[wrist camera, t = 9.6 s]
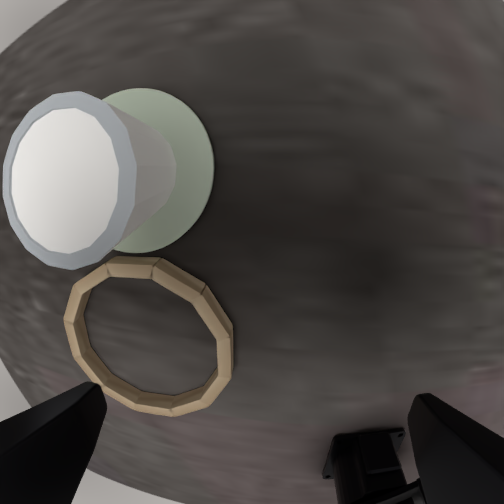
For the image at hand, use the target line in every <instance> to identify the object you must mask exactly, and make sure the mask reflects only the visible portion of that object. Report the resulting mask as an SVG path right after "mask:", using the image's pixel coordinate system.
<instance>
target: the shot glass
mask: <svg viewBox="0 0 504 504" xmlns="http://www.w3.org/2000/svg"><path fill="white" fill-rule="evenodd" d="M176 168H177V164H176V161H175V158H174V154H173V151H172V147H171V145H170V144H169V143H168V142H167V140H166V139H165V138H164V137H163V136H162V134H161V133H160V132H159V131H157V130H155V129H154V128H152V127H150V126H148V125H147V124H145V123H143V122H141V121H140V120H138V119H136V118H134V117H132V116H131V115H129V114H127V113H125V112H123V111H122V110H120V109H118V108H116V107H114V106H112V105H111V104H109V103H107V102H105V101H102V100H100V99H98V98H96V97H93V96H91V95H89V94H86V93H84V92H81V91H76V92H68V93H60V94H53V95H52V96H50V97H49V98H47V99H46V100H44V101H43V102H41V103H40V104H38V105H37V106H35V107H34V108H32V109H31V110H30V111H29V112H28V113H27V115H26V116H25V118H24V119H23V120H22V122H21V123H20V125H19V126H18V128H17V129H16V131H15V132H14V134H13V135H12V138H11V141H10V144H9V147H8V151H7V154H6V157H5V161H4V164H3V199H4V203H5V206H6V210H7V214H8V217H9V221H10V224H11V226H12V228H13V230H14V231H15V233H16V234H17V236H18V238H19V239H20V241H21V242H22V244H23V245H24V247H25V248H26V249H27V250H28V251H29V252H30V253H32V254H33V255H34V256H36V257H37V258H39V259H40V260H41V261H43V262H44V263H45V264H47V265H49V266H54V267H59V268H64V269H69V270H75V269H78V268H81V267H84V266H87V265H90V264H93V263H96V262H99V261H100V260H101V259H102V258H103V257H104V256H105V255H107V254H108V253H109V252H110V251H111V250H112V249H113V248H115V247H116V246H117V245H118V244H119V243H120V242H121V241H123V240H124V239H125V238H126V237H127V236H129V235H130V234H131V233H132V232H133V231H134V230H136V229H137V228H138V227H139V226H140V225H142V224H143V223H144V222H145V221H146V220H148V219H149V218H150V217H151V216H153V215H154V214H155V213H156V212H157V211H158V210H159V209H160V208H161V207H162V206H164V205H165V204H166V203H167V201H168V198H169V196H170V194H171V192H172V190H173V188H174V186H175V179H176Z"/></svg>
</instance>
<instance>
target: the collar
mask: <svg viewBox="0 0 504 504" xmlns="http://www.w3.org/2000/svg"><path fill="white" fill-rule="evenodd" d="M110 276H112V277H128V278H145V279H152V280H154V281H155V282H157V283H159V284H160V285H162V286H164V287H165V288H167V289H169V290H170V291H172V292H174V293H175V294H177V295H179V296H180V297H182V298H184V299H186V300H187V301H189V302H191V303H192V304H193V306H194V307H195V309H196V310H197V312H198V313H199V315H200V316H201V318H202V319H203V321H204V322H205V324H206V325H207V326H208V328H209V329H210V331H211V332H212V334H213V335H214V337H215V338H216V340H217V357H218V367H217V369H216V370H215V371H214V373H213V374H212V376H211V377H210V378H209V380H208V381H207V382H206V384H205V385H204V386H203V387H200V388H197V389H194V390H191V391H188V392H185V393H182V394H179V395H176V396H171V395H163V394H156V393H149V392H143V391H140V390H139V389H137V388H135V387H133V386H132V385H130V384H128V383H126V382H125V381H123V380H121V379H120V378H118V377H116V376H115V375H113V374H112V373H111V372H110V371H109V370H108V368H107V367H106V366H105V365H104V363H103V362H102V361H101V359H100V358H99V357H98V356H97V354H96V353H95V352H94V350H93V349H92V348H91V346H90V342H89V338H88V334H87V330H86V325H85V321H84V316H83V313H84V310H85V307H86V304H87V301H88V298H89V295H90V293H91V290H92V287H94V286H96V285H97V284H99V283H100V282H102V281H103V280H105V279H107V278H108V277H110ZM64 324H65V328H66V332H67V336H68V340H69V344H70V347H71V351H72V354H73V357H74V359H75V360H76V361H77V363H78V364H79V365H80V366H81V368H82V369H83V370H84V372H85V373H86V374H87V375H88V377H89V378H90V379H91V380H92V381H93V382H94V383H98V384H99V385H100V386H101V388H102V391H103V392H104V393H106V394H107V395H109V396H111V397H112V398H114V399H116V400H117V401H119V402H121V403H122V404H124V405H126V406H128V407H129V408H131V409H133V410H135V411H140V412H146V413H152V414H158V415H164V416H171V417H176V416H179V415H183V414H186V413H189V412H193V411H196V410H199V409H203V408H206V407H209V406H210V405H211V404H212V402H213V401H214V400H215V399H216V397H217V396H218V395H219V394H220V392H221V391H222V390H223V388H224V387H225V386H226V385H227V383H228V382H229V381H230V379H231V376H232V370H233V326H232V323H231V322H230V320H229V318H228V317H227V315H226V314H225V312H224V311H223V309H222V308H221V306H220V305H219V303H218V301H217V300H216V298H215V297H214V295H213V294H212V292H211V290H210V289H209V287H208V286H207V285H206V286H205V283H204V282H202V281H200V280H199V279H197V278H195V277H193V276H192V275H190V274H188V273H187V272H185V271H183V270H182V269H180V268H178V267H177V266H175V265H173V264H172V263H170V262H168V261H167V260H165V259H163V258H162V259H161V258H160V257H133V256H115V257H114V258H112V259H110V260H109V261H107V262H106V263H104V264H103V265H101V266H100V267H98V268H97V269H95V270H94V271H93V272H91V273H90V274H88V275H87V276H85V277H84V278H82V279H81V280H80V281H78V282H77V283H75V284H74V285H73V288H72V291H71V294H70V298H69V301H68V305H67V308H66V312H65V315H64Z"/></svg>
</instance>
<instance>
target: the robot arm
mask: <svg viewBox="0 0 504 504" xmlns="http://www.w3.org/2000/svg"><path fill="white" fill-rule="evenodd" d="M106 412H107V403H106V400H105V397H104V394H103V391H102V388H101V386H100V385H99V384H98V383H94V382H88V381H87V382H85V383H82V384H80V385H78V386H76V387H74V388H72V389H70V390H68V391H66V392H64V393H62V394H60V395H58V396H56V397H53V398H51V399H49V400H47V401H45V402H43V403H41V404H39V405H36V406H34V407H32V408H30V409H28V410H26V411H23V412H21V413H19V414H17V415H15V416H12V417H10V418H8V419H6V420H3V421H1V422H0V504H71V503H72V500H73V498H74V496H75V493H76V491H77V488H78V486H79V484H80V481H81V479H82V477H83V474H84V472H85V470H86V468H87V465H88V463H89V461H90V459H91V456H92V454H93V452H94V449H95V446H96V443H97V440H98V437H99V433H100V430H101V427H102V424H103V421H104V418H105V415H106ZM408 426H409V431H410V436H411V441H412V446H413V452H414V457H415V462H416V466H417V470H418V473H419V476H420V478H418V479H416V481H414V482H412V483H410V484H408V485H407V482H406V479H405V476H404V473H403V470H402V468H401V463H400V461H399V458H398V455H397V451H398V449H399V447H400V445H401V443H402V441H403V439H404V437H405V434H406V432H405V430H404V429H403V428H400V429H393V430H386V431H378V432H369V433H359V434H348V435H338V436H335V437H334V438H333V441H332V444H331V448H330V451H329V454H328V457H327V461H326V464H325V467H324V470H323V473H322V476H323V479H334V481H335V487H336V493H337V500H338V504H504V438H503V437H501V436H499V435H498V434H496V433H494V432H493V431H491V430H489V429H488V428H486V427H484V426H483V425H481V424H479V423H478V422H476V421H474V420H473V419H471V418H470V417H468V416H466V415H465V414H463V413H461V412H460V411H458V410H457V409H455V408H453V407H452V406H450V405H448V404H447V403H445V402H444V401H442V400H440V399H439V398H437V397H436V396H434V395H432V394H431V393H423V394H418V395H416V397H415V398H414V401H413V404H412V406H411V409H410V411H409V414H408Z"/></svg>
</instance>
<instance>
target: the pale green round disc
mask: <svg viewBox="0 0 504 504" xmlns="http://www.w3.org/2000/svg"><path fill="white" fill-rule="evenodd" d="M102 101H105V102H107V103H109V104H111V105H112V106H114V107H116V108H118V109H120V110H122V111H123V112H125V113H127V114H129V115H131V116H132V117H134V118H136V119H138V120H140V121H141V122H143V123H145V124H147V125H148V126H150V127H152V128H154V129H155V130H157V131H159V132H160V133H161V134H162V136H163V137H164V138H165V139H166V140H167V142H168V143H169V144H170V145H171V147H172V151H173V154H174V158H175V161H176V164H177V168H176V179H175V186H174V188H173V190H172V192H171V194H170V196H169V198H168V201H167V203H166V204H165V205H164V206H162V207H161V208H160V209H159V210H158V211H157V212H156V213H155V214H154V215H153V216H151V217H150V218H149V219H148V220H146V221H145V222H144V223H143V224H142V225H140V226H139V227H138V228H137V229H136V230H134V231H133V232H132V233H131V234H130V235H129V236H127V237H126V238H125V239H124V240H123V241H121V242H120V243H119V244H118V245H117V246H116V247H115V248H113V249H114V250H118V251H122V252H128V253H145V252H150V251H154V250H157V249H160V248H163V247H165V246H167V245H169V244H171V243H173V242H174V241H176V240H177V239H178V238H180V237H181V236H182V235H183V234H184V233H185V232H187V231H188V230H189V229H190V228H191V227H192V226H193V224H194V223H195V222H196V221H197V220H198V218H199V217H200V215H201V214H202V212H203V210H204V208H205V206H206V204H207V202H208V200H209V197H210V194H211V191H212V186H213V181H214V169H215V166H214V154H213V149H212V144H211V141H210V138H209V135H208V133H207V131H206V129H205V127H204V125H203V124H202V122H201V121H200V119H199V118H198V116H197V115H196V114H195V113H194V112H193V111H192V110H191V109H190V108H189V107H188V106H187V105H186V104H184V103H183V102H182V101H180V100H179V99H177V98H175V97H173V96H172V95H170V94H167V93H165V92H162V91H159V90H154V89H147V88H135V89H128V90H124V91H120V92H117V93H115V94H112V95H110V96H108V97H106V98H105V99H103V100H102Z"/></svg>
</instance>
